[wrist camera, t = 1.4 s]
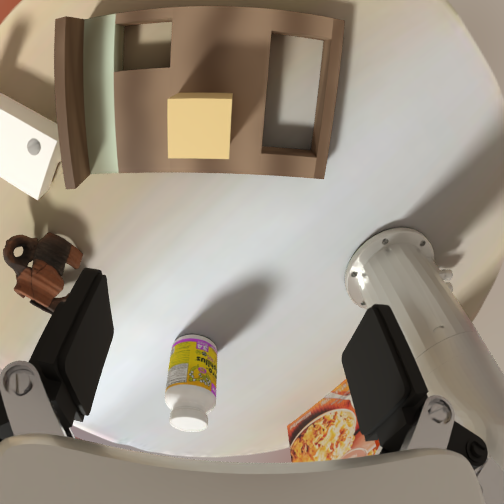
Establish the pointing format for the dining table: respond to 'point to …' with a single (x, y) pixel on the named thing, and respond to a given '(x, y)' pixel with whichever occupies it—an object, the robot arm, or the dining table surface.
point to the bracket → (27, 148)
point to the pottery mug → (41, 267)
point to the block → (199, 125)
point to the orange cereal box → (329, 430)
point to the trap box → (183, 90)
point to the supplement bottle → (191, 382)
